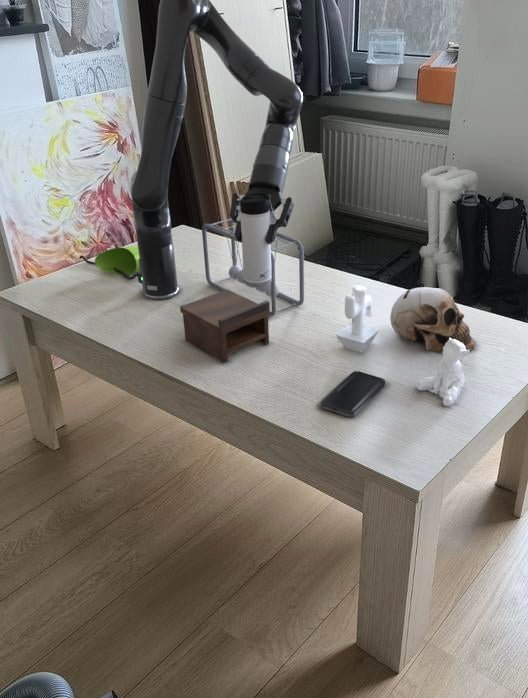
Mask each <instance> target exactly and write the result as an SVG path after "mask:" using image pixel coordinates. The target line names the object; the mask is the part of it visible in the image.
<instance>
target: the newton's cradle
mask: <svg viewBox="0 0 528 698" xmlns="http://www.w3.org/2000/svg"><path fill="white" fill-rule="evenodd" d="M225 222H226V223H227V222H229V227H222V226H220V224H222V223H225ZM218 224H219V225H218ZM207 229H208V230H210V231H213V232H215V233H217V234H219V235H221V236H224V237H226V239H227V243H228V247H229V251H230V256H231V260H232V266H230V268H229V269H228V275H229V276H228V277H226V278H223V279H221V280H217V281H215V282H214V281H213V280H212V279H211V271H210V261H209V249H208V236H207V235H208V234H207ZM229 229H230V230H229ZM235 230H236V227H235V223H234V222H233V220H232V218H231V217H230V218H227V219H224V220H221V221H217V222H214V223H204V224H203V225H202V227H201V237H202V248H203V258H204V270H205V279H206V281H207V284H208V285H209V286H211V287H212V288H214V289H217V290H218V291H219V292H221V291H223V290H226V289H227V288H225V287H224V286H222V285H219V284H218V283H222V282H224V281H227V280H230V279H233V280H238V282H239V283H241V284H245V283H244V273H243V263H242V259H241V255H240V251H239V245H240V244H242V242H241V241H238V240H237V239H236V237H235V234H234V233H235ZM229 239H230V241H229ZM278 241H281V242H282V243H286V244H284V245H281V246H278ZM230 243H231V246H230ZM291 245H296V246H297V247H298V262H299V263H298V265H299V267H298V268H299V269H298V270H299V272H298V273H299V274H298V275H299V276H298V277H299V300H297V299H295V298H293V297H291V296H289V295H286V294H284V293H283V292H281V291H280V287H279V285H278V284H277V282H276V259H275V258H277V257H276V256H277V255H276V254H277V250H279V249H282V248H286V247H288V246H291ZM277 246H278V247H277ZM273 251H275V252H274V254H273ZM237 256H238V257H239V262H240V266H239V265H238V259H237ZM271 276H272V282H271V283H270V284H269V285H267V286H265V287H260V288H255V290H256V291H257V292H259V293H264V294H265V295H266V296H267V297H269V298H270V301H271V303H270V305H271V306H270V307H271V310H270V316H269V317H274V316H275V315H276V313H277V312H280V311H283V310H285V309H287V308H290V307H293V306H302V305H303V304H304V302H305V249H304V245H303V243H302V242H301V241H300V240H299V239H296V238H294V237H291V236H289V235H286V234H284V233H281V232H279V231H277V233H276V237H275V247H274V248H272V247H271ZM250 288H253V289H254V287H250ZM277 296H278V297H280V298H281V299H284V300H286V301H287V302H290V303H291V304H289V305H286V306H284V307H281V308H279V309H277Z"/></svg>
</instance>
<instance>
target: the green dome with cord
mask: <svg viewBox="0 0 528 698" xmlns="http://www.w3.org/2000/svg"><path fill="white" fill-rule="evenodd" d="M94 262H95V265H94V266H96V268H97V269H98V270H100V271H102V272H105V273H109V274H113V275H122V274H120V273H119V272H116V271H115V270H114V269H113V268H116V269H118V270H120V271H122V272H123V273H124V274H126V275H127V276H129V275H132V274H137V272H139V271H140V265H139V250H138V245H131V246H121V247H113V248H110V249H107V250H105V251H103V252H100V253H98V254H97V255H96V257H95V258H94ZM122 276H123V275H122Z"/></svg>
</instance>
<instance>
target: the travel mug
mask: <svg viewBox="0 0 528 698" xmlns="http://www.w3.org/2000/svg"><path fill="white" fill-rule="evenodd" d="M270 199H271V195H270V194H266V193H254V194H250V195H246V196H244V197H242V199H241V200H240V211H239V215H241V235H242V243H241V251H242V268H243V273H244V283H243V284H244V285H245V286H247V287H249V288H251V287H254V288H255V289H256V288H260V287H265V286H267V285H269V284H270V283H271V282H272V276H271V252H272V251H271V248H272V246H271V245H272V244H267V242H266V237H267V232H268V228H269V225H271V222H270V213H269V212H270V209H269V200H270ZM254 288H253V289H254Z"/></svg>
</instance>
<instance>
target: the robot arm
mask: <svg viewBox="0 0 528 698" xmlns="http://www.w3.org/2000/svg"><path fill="white" fill-rule="evenodd" d="M158 6H159V7H158V15H157V16H158V17H157V28H156V41H155V47H154V48H155V49H154V54H153V60H152V66H151V72H150V77H149V83H148V87H147V91H146V98H145V102H144V109H143V118H142V120H143V121H142V131H141V132H142V136H141V138H142V139H141V152H140V158H139V162H138V166H137V169H136V170H135V172H134V173H132V175H131V178H130V180H129V194H130V198H131V205H132V206H131V207H132V213H133V222H134V229H135V234H136V242H137V246H138V250H139V265H140V271H139V272H136V273H133V275H132V276H129V275H126V274H124V273H123V272H122V271H120V270H118V269H116V268H113V269H114V270H115V271H116V272H119V273H120V274H122V276H123V277H124V278H126V279H127V280H134V279H135V278H136V277H137V282H138V283H139V284H141V285H142V286H141V287H142V291H143V295H144V297H146V298H147V299H151V300H167V299H170V298H172V297H175V296H176V295H178V293H179V286H178V285H179V284H178V275H177V266H176V259H175V249H174V241H173V240H174V239H173V232H172V231H173V230H172V221H171V213H170V207H169V197H168V195H169V194H168V193H169V180H170V179H169V178H170V172H171V171H170V169H171V164H172V158H173V154H174V151H175V148H176V144H177V141H178V137H179V133H180V130H181V126H182V122H183V118H184V114H185V108H186V104H187V96H188V85H187V76H186V70H185V53H186V47H187V42H188V38H189V35H190V32H191V33H192V34H194V35H196V36H197V37H198V38H200V39H202V40H203V41H204V42H205V43H206V44H208V46H209V47H210V48H212V50H213V51H214V52H215V53H216V55H217V56H218V58H219V59H220V61H221V63H222V64H223V65H224V67H225V68H226V69H227V71H228V72H229V73H230V75H231V76H232V77H233V78H234V79H235V80H236V81H237V82H238V83H239V84H240V85H241V86H242V87H243V88H244V89H245V90H246V91H247V92H248V93H250V94H251V95H252V96H255V97H259V96H260V97H261V96H262V95H263V97H265V98H267V99H268V100H269V105H268V106H269V107H268V110H267V115H266V120H265V125H264V126H265V127H264V129H263V132H262V135H261V138H260V142H259V146H258V150H257V153H256V156H255V159H254V162H253V163H252V164H253V165H252V170H251V174H250V179H249V184H248V189H247V191H246V192H245V194H238V193H237V192H233V193H232V194H231V204H230V212H229V217H230V219H231V218H232V220H233V222H234V224H236V225H235V233H234V234H235V237H236V239H237V240H238V241H241V242H242V235H241V215H240V208H241V207H240V200H241V199H242V197H244V196H246V195H250V194H254V193H266V194H270V195H271V199H270V200H269V209H270V212H269V213H270V225H269V228H268V232H267V237H266V242H267V244H271V245H272V243H274V242H276V240H275V237H277V236H276V233H277V232H278V229H279V228H286V227H287V226H288V224H289V221H290V218H291V216H292V213H293V210H294V207H295V203H294V201H293V198H292V197H291V196H288V197H286V198H285V197H283V192H284V188H285V184H286V179H287V175H288V171H289V165H290V156H291V152H292V149H293V148H292V147H293V143H294V133H295V130H296V126H297V122H298V121H299V120H298V119H299V117H300V114H301V109H302V106H303V104H304V103H303V102H304V96H303V92H302V91H301V89H300V87H299V86H298V84H296V82H294V81H293V80H291V79H290V78H289V77H287V76H286V75H284V74H283V73H280V72H279V71H276V70H275V69H273V68H271V67H270V66H269V64H267V62H265V61H264V59H262V57H260V56H259V55H258V54H257V53H256V52H255V51H254V50H253V49H252V48H251V47H250V46H249V45H248V44H247V43H246V42H245V41H244V40H243V39H242V38H241V37H240V36H238V35H237V33H236V32H235V31H234V30H233V29H232V28H231V26H230V25H229V24H228V22H226V20H225V19H224V18H223V17H222V15H221V14H220V13H219V11H218V10H217V8H216V7H215V6H214V5H213V3H212V2H211V0H160V1H159V5H158ZM280 206H282V210H281V214H280V216H279V218H277V214H276V210H277V209H278V208H279V207H280ZM238 241H237V242H238ZM78 259H80V260H81V259H82V260H83V261H84V262H85V263H87V264H89V265H94V266H96V265H95V261H92V260H91V261H90V260H88V259H87V258H86V257H85V256H84V255H83V254H82V255H80V256H79V257H78ZM120 274H119V275H120Z"/></svg>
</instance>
